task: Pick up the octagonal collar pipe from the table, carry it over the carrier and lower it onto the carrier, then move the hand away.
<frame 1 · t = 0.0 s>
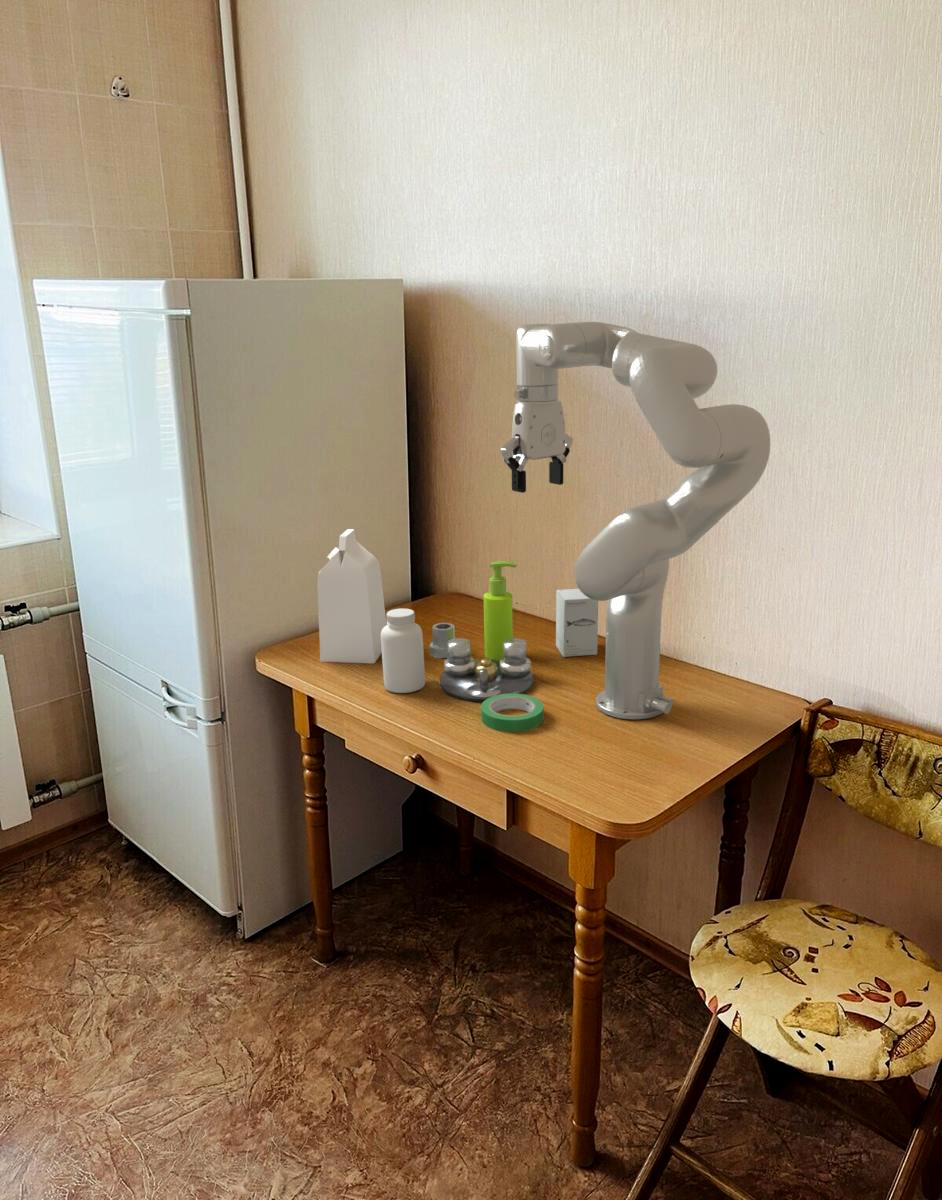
hand: (537, 487, 178), 37 cm above the table, tool pointing down, fingers open, 9 cm apart
soap dispenser: (501, 655, 198), on the table
octagonal collar pipe: (444, 653, 200), on the table
supplement box: (576, 651, 199), on the table
carrier: (486, 683, 184), on the table
tape roll: (512, 720, 169), on the table
pill bottle: (404, 687, 184), on the table
milk: (355, 652, 202), on the table
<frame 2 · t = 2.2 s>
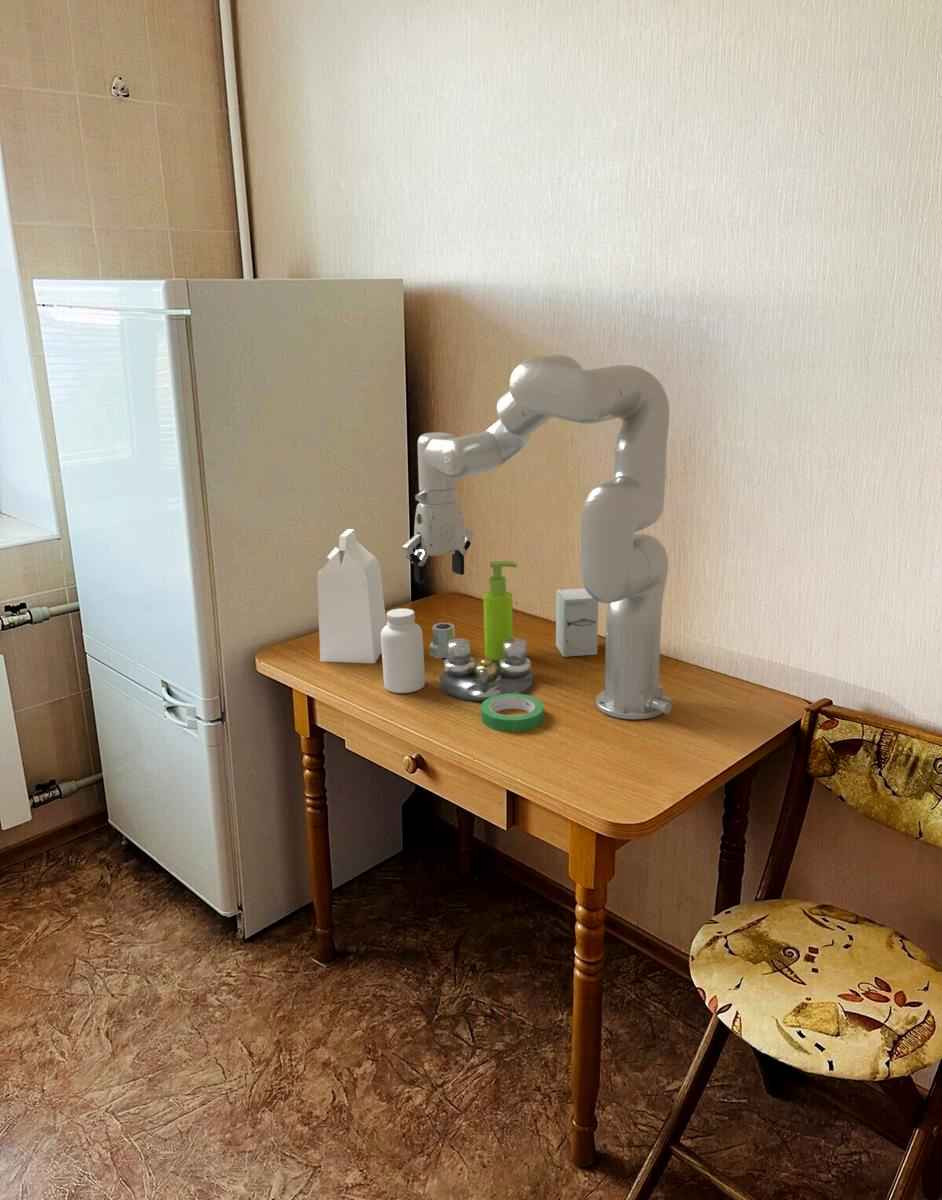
hand: (439, 578, 195), 16 cm above the table, tool pointing down, fingers open, 9 cm apart
nothing on the table moved.
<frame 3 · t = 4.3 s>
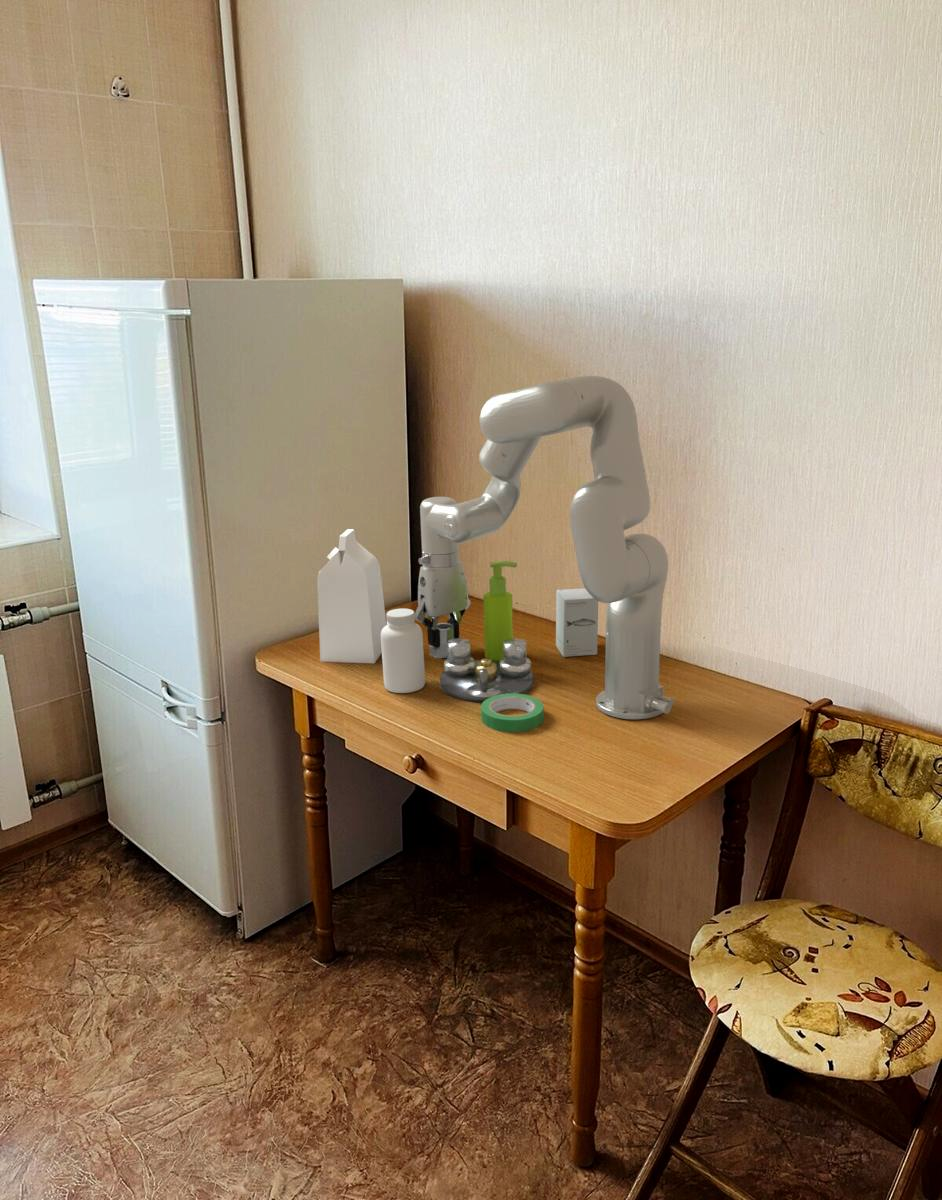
hand: (443, 642, 199), 3 cm above the table, tool pointing down, fingers closed on octagonal collar pipe, 4 cm apart
octagonal collar pipe: (444, 653, 200), on the table, touching gripper
everything else where it was.
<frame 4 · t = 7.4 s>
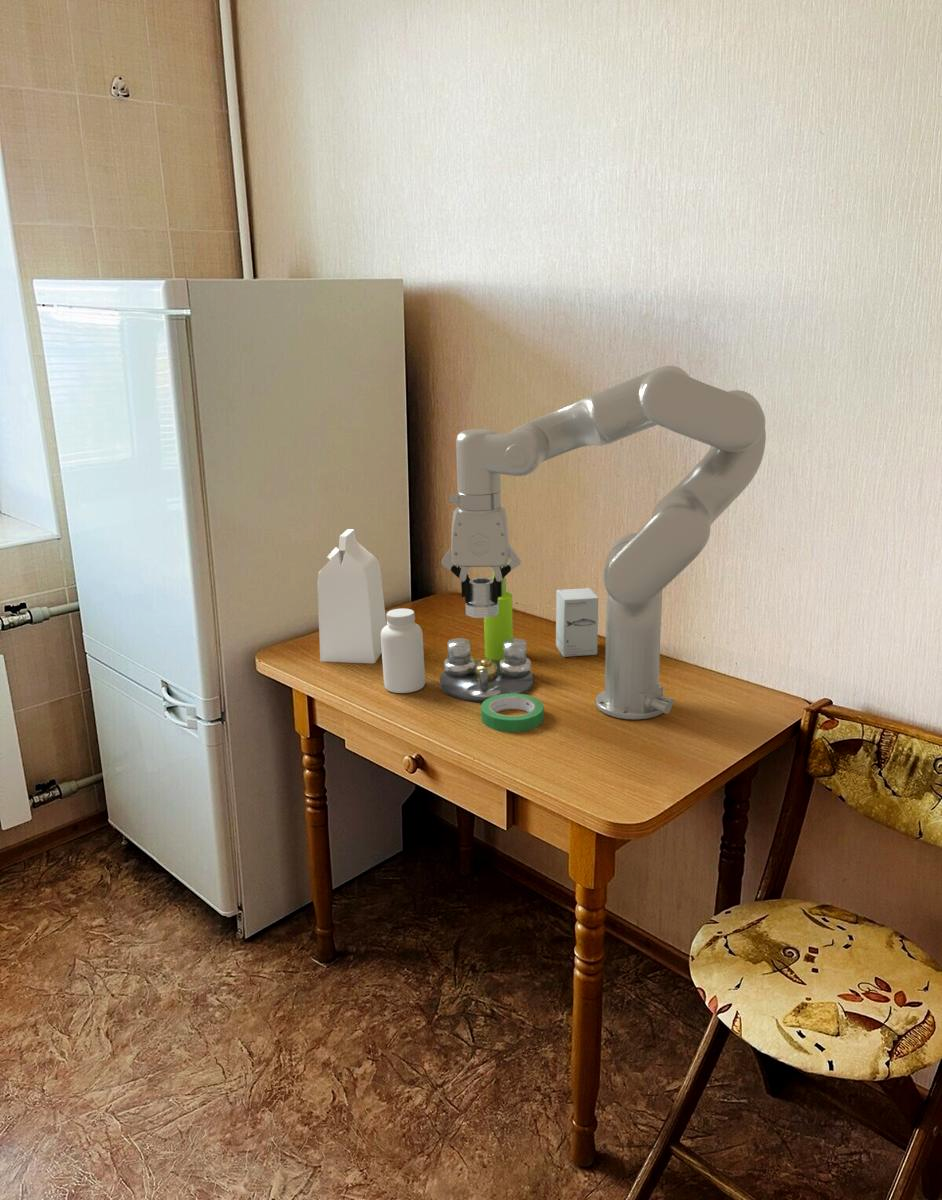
hand: (481, 599, 172), 19 cm above the table, tool pointing down, fingers closed on octagonal collar pipe, 4 cm apart
octagonal collar pipe: (482, 612, 173), point 17 cm above the table, touching gripper
everything else where it was.
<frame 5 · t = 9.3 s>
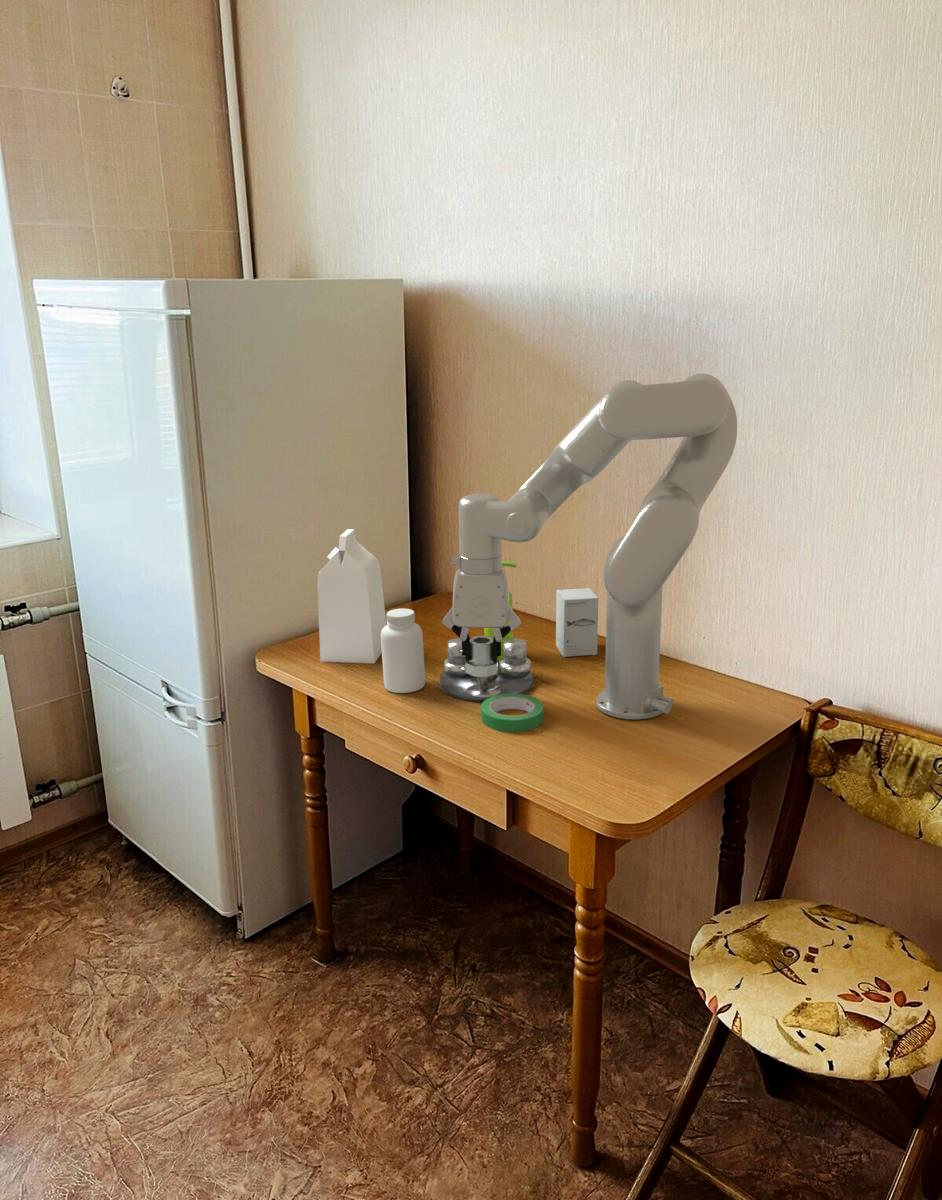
hand: (481, 658, 176), 8 cm above the table, tool pointing down, fingers closed on octagonal collar pipe, 4 cm apart
octagonal collar pipe: (481, 670, 176), point 5 cm above the table, touching gripper
everything else where it was.
when the fingers open (5 cm above the table, at t = 10.6 s): octagonal collar pipe drops 1 cm, resting on carrier.
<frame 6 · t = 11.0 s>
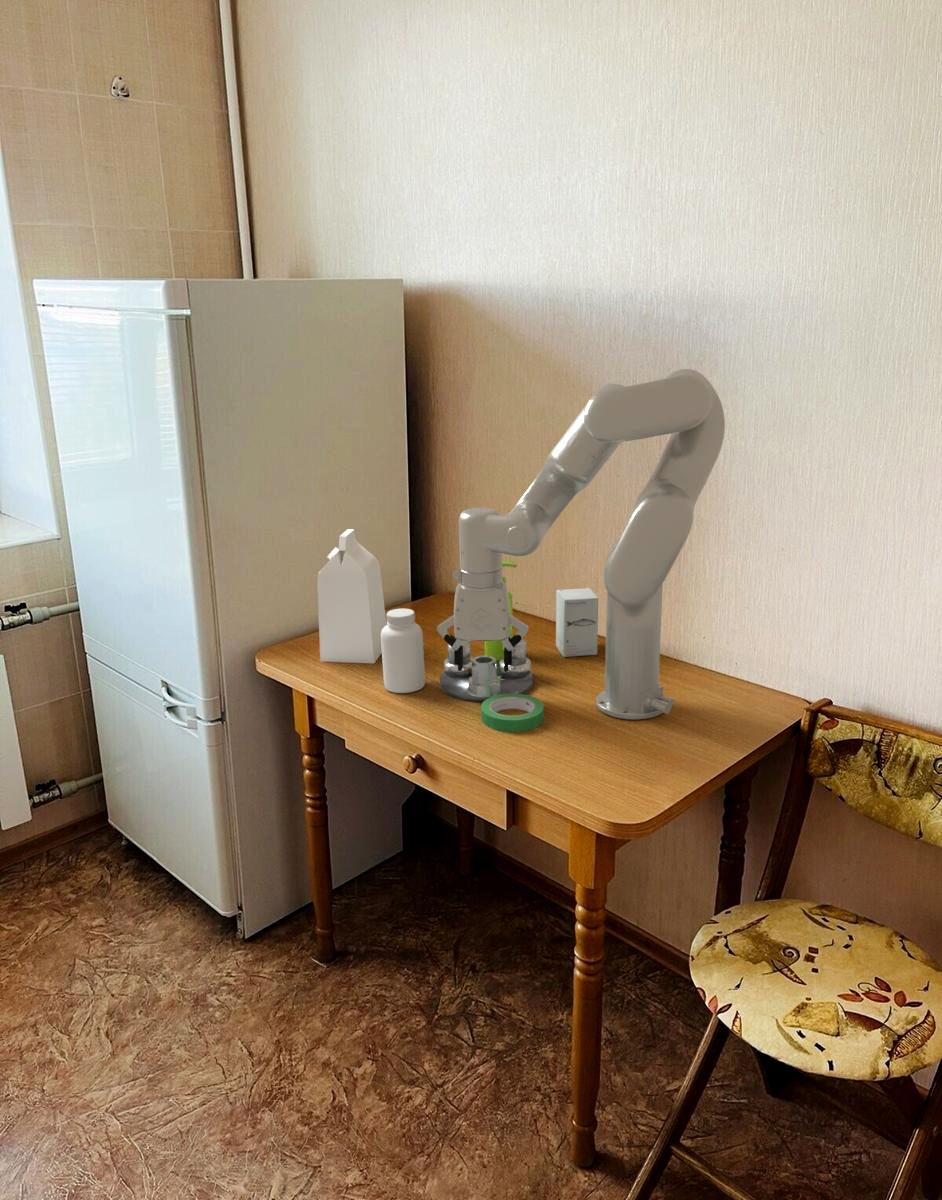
hand: (483, 667, 176), 6 cm above the table, tool pointing down, fingers open, 8 cm apart
octagonal collar pipe: (484, 690, 178), point 1 cm above the table, touching carrier
everything else where it was.
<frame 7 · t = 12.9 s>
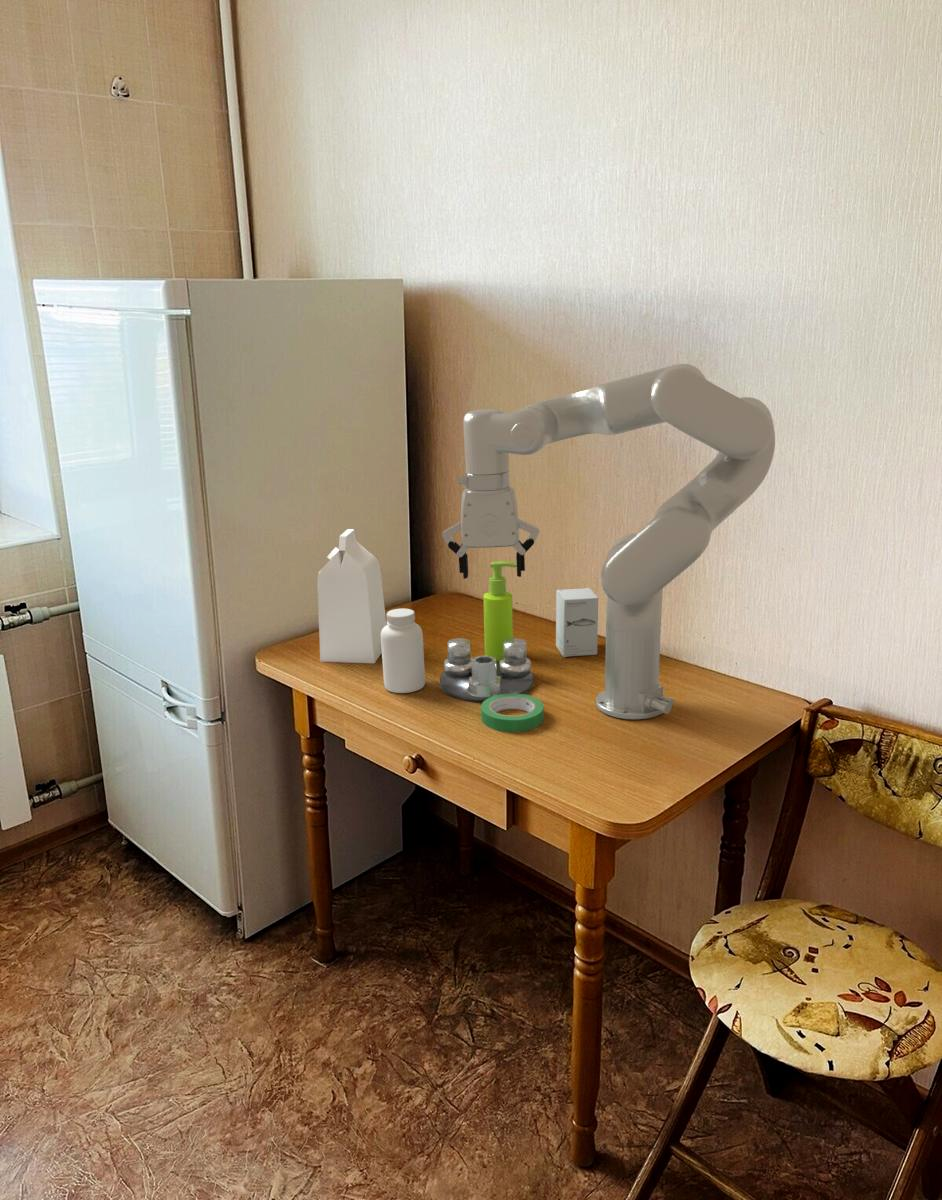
hand: (492, 575, 172), 23 cm above the table, tool pointing down, fingers open, 9 cm apart
nothing on the table moved.
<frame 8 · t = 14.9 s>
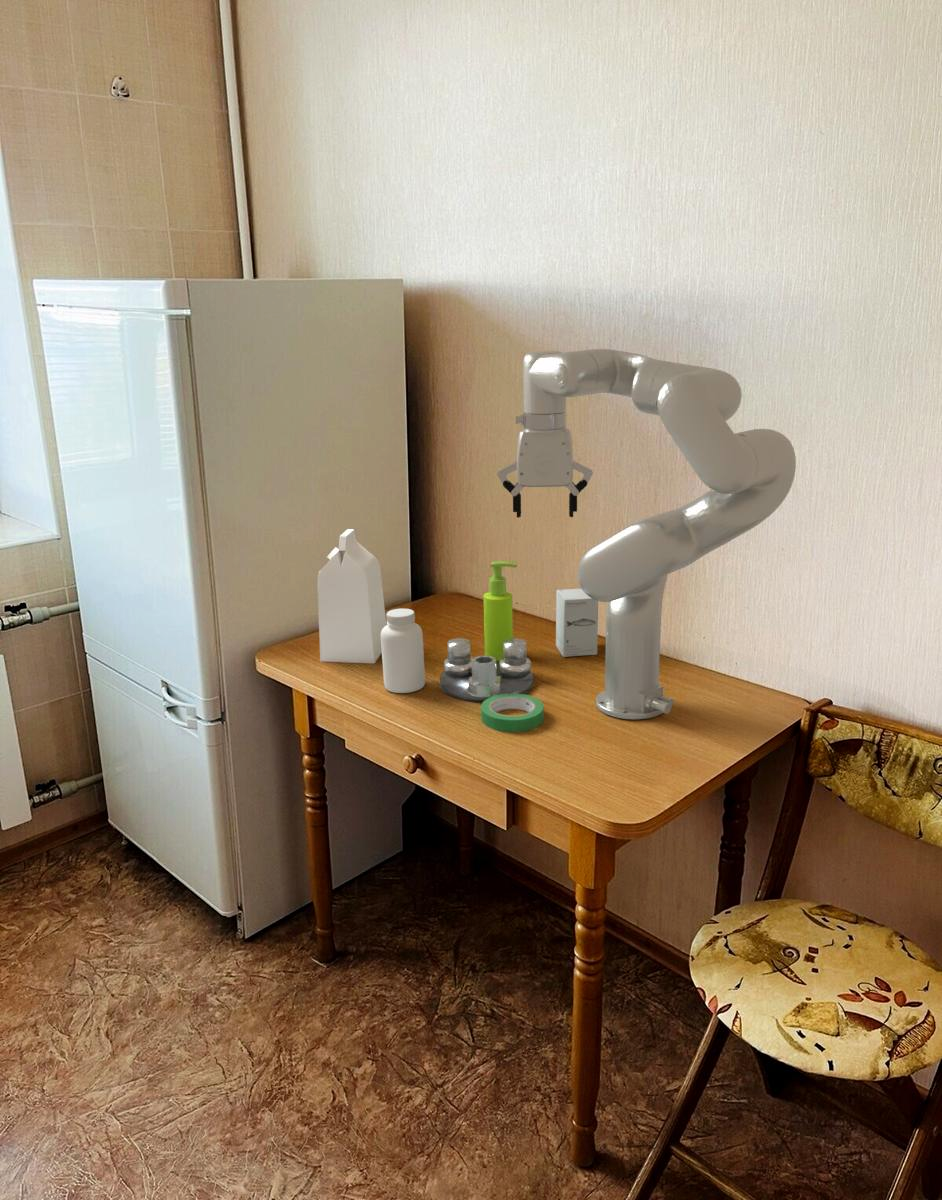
hand: (545, 515, 176), 32 cm above the table, tool pointing down, fingers open, 9 cm apart
nothing on the table moved.
at the end: octagonal collar pipe 0.2 cm from the target spot on the carrier, point 1.3 cm above the carrier's base; octagonal collar pipe tilted 0°; the gripper is holding nothing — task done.
